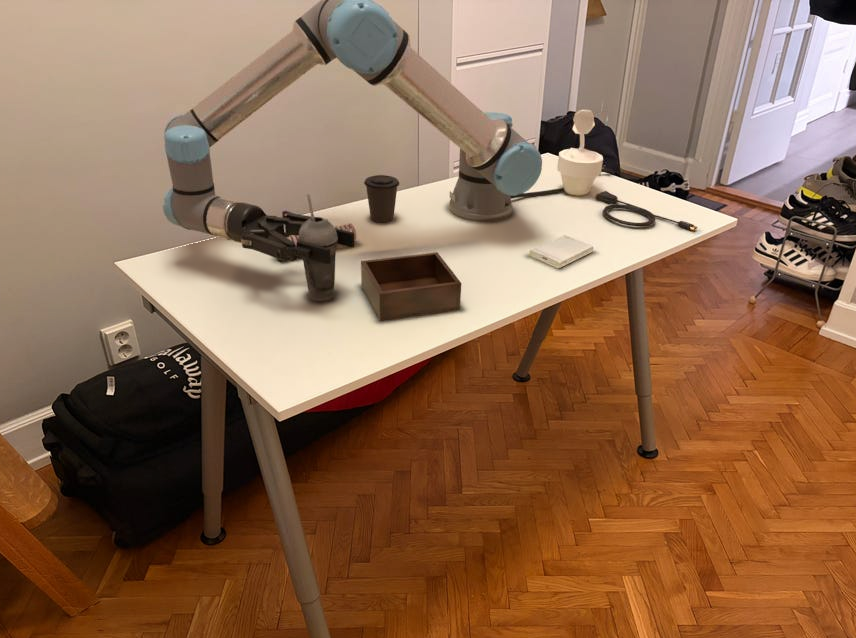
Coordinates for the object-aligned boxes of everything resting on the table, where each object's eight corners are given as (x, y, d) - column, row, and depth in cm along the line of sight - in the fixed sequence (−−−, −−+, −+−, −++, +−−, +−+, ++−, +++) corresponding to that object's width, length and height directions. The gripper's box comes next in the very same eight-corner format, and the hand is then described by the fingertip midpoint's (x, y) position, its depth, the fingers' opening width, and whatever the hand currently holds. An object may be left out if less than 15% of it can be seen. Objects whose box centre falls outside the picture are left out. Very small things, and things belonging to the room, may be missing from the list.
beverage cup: (337, 305, 134) (332, 203, 123) (298, 303, 134) (289, 201, 123) (343, 287, 140) (339, 188, 129) (306, 285, 140) (298, 186, 129)
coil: (279, 244, 145) (360, 228, 153) (270, 233, 148) (350, 218, 156) (280, 264, 148) (360, 247, 156) (272, 253, 151) (350, 237, 159)
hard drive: (564, 234, 164) (530, 249, 156) (593, 246, 159) (560, 262, 151) (563, 241, 165) (529, 256, 157) (592, 252, 160) (559, 269, 152)
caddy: (436, 277, 146) (437, 252, 143) (459, 309, 136) (461, 283, 133) (361, 286, 141) (360, 260, 138) (379, 320, 131) (379, 293, 128)
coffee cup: (373, 228, 165) (372, 186, 159) (359, 215, 170) (358, 174, 165) (405, 222, 168) (405, 181, 163) (390, 210, 174) (390, 169, 168)
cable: (666, 244, 166) (667, 238, 165) (570, 207, 182) (571, 201, 181) (696, 230, 174) (698, 224, 173) (603, 195, 190) (604, 190, 189)
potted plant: (592, 203, 185) (609, 103, 171) (549, 195, 188) (561, 96, 174) (602, 187, 195) (618, 92, 181) (560, 180, 198) (573, 85, 184)
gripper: (272, 222, 146) (370, 246, 139) (204, 260, 131) (310, 289, 124) (269, 186, 142) (369, 210, 135) (198, 221, 127) (307, 250, 120)
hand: (341, 248), depth 129 cm, fingers closed on beverage cup, 7 cm apart
